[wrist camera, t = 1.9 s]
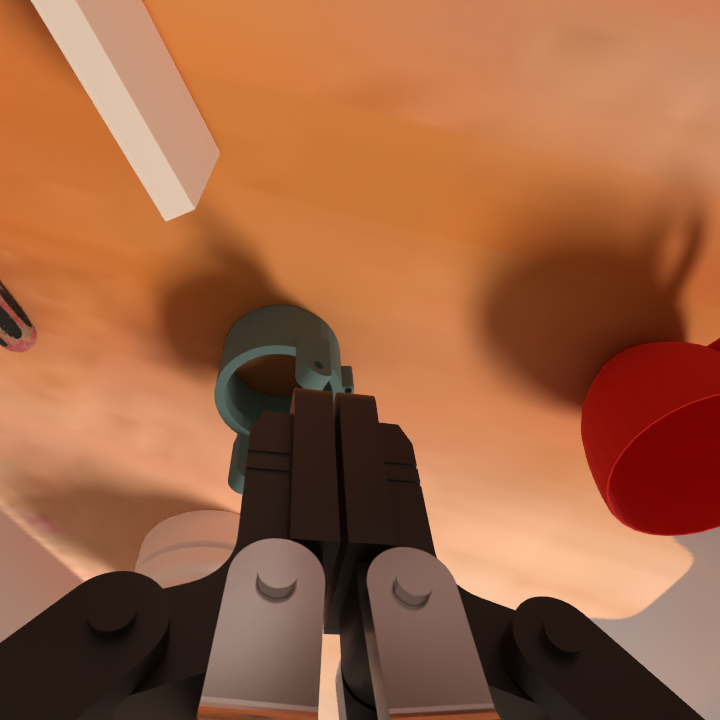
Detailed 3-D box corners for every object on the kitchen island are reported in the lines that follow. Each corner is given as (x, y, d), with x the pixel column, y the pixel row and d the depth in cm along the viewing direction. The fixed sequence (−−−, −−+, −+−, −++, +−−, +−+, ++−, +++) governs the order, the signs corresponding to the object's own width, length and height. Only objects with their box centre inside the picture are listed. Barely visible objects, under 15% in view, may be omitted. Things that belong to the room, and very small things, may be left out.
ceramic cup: (798, 308, 44) (912, 390, 36) (636, 460, 52) (698, 556, 43) (676, 229, 40) (773, 302, 31) (519, 408, 47) (563, 504, 39)
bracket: (242, 412, 46) (231, 501, 38) (206, 309, 40) (185, 390, 33) (357, 392, 46) (368, 478, 38) (336, 286, 40) (344, 362, 33)
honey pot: (235, 490, 50) (204, 715, 36) (307, 572, 57) (307, 789, 42) (110, 541, 53) (32, 771, 38) (194, 613, 60) (156, 832, 45)
